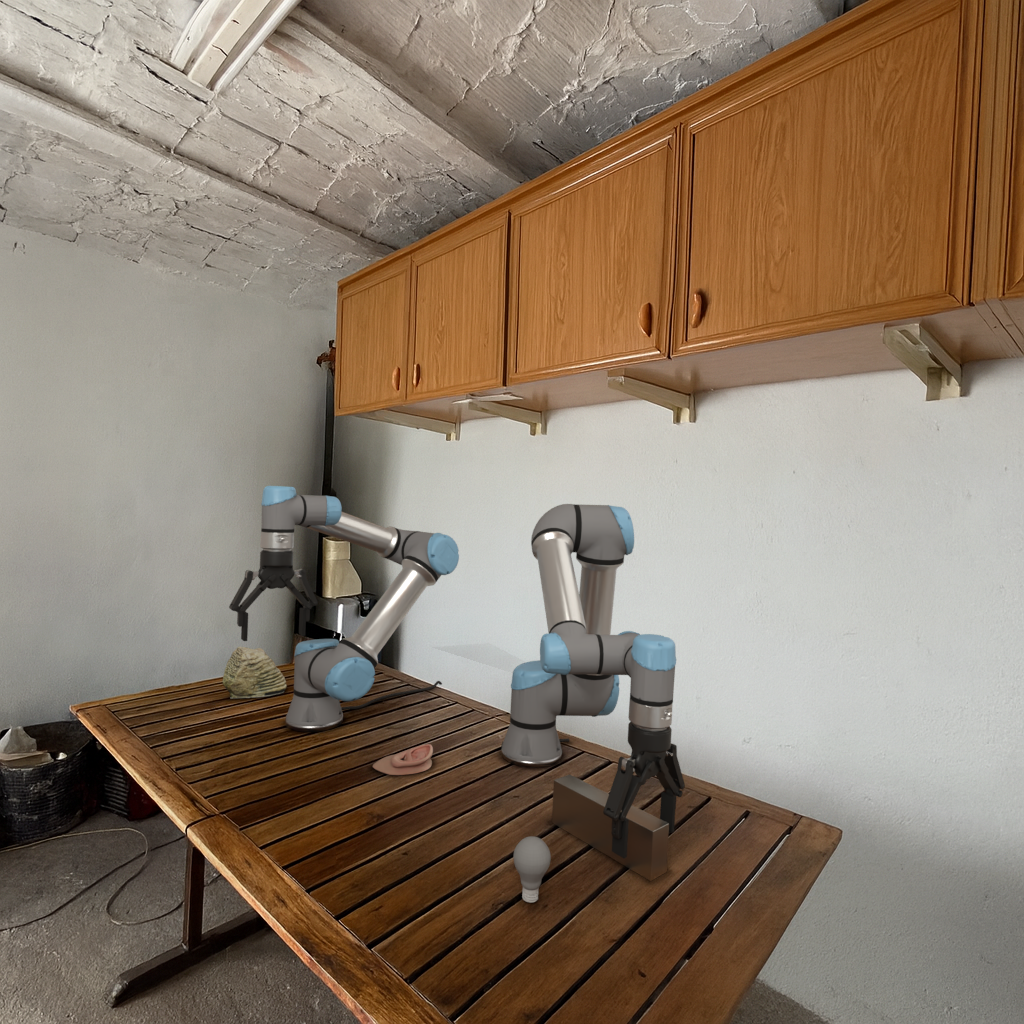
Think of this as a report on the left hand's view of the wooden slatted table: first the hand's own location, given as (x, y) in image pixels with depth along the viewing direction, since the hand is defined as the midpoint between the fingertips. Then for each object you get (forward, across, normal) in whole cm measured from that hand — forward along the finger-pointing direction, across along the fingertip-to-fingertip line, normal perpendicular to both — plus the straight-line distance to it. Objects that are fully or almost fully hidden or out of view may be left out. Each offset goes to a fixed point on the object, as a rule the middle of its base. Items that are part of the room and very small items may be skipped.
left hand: (273, 637), depth 153 cm
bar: (+29, +42, -73) cm, 89 cm away
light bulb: (+29, +19, -78) cm, 86 cm away
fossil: (+29, +9, +49) cm, 57 cm away
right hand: (+24, +42, -82) cm, 95 cm away
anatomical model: (+29, +25, -22) cm, 44 cm away
